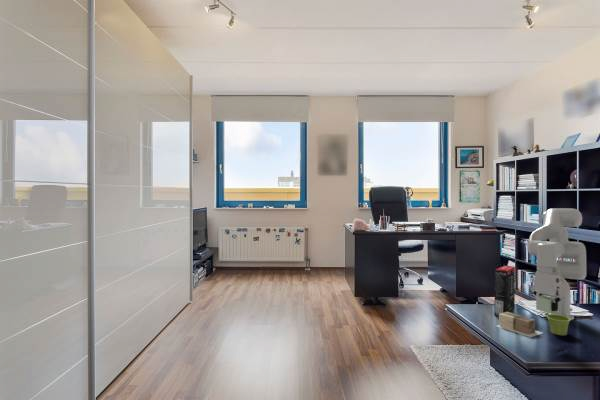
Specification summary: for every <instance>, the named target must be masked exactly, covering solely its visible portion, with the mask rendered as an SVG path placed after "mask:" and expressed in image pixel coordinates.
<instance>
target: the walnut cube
mask: <svg viewBox="0 0 600 400" xmlns="http://www.w3.org/2000/svg"><path fill="white" fill-rule="evenodd" d="M515 330H516V331H519V332H522V333H525V334H531V333H534V332H535V330H536V319H533V318H530V317H526V316H522V315H521V317H518V318H515Z"/></svg>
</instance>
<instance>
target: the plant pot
mask: <svg viewBox="0 0 600 400" xmlns="http://www.w3.org/2000/svg"><path fill="white" fill-rule="evenodd" d="M546 318H547V321H548V326H549V330H550V333H551V334H554V335H558V336H567V335H568V329H569V324H570V321H572V320H571V319H570V318H568V317H566V316H562V315H555V314H549V315H546Z"/></svg>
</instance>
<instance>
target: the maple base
mask: <svg viewBox="0 0 600 400" xmlns="http://www.w3.org/2000/svg"><path fill="white" fill-rule="evenodd" d="M521 316H522V315H520V314H517V313H515V312H514V313H510V312H504V313H500V314H499V317H498V325H499V326H502V327H505V328H509V329H512V330H514V329H515V318H518V317H521Z"/></svg>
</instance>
